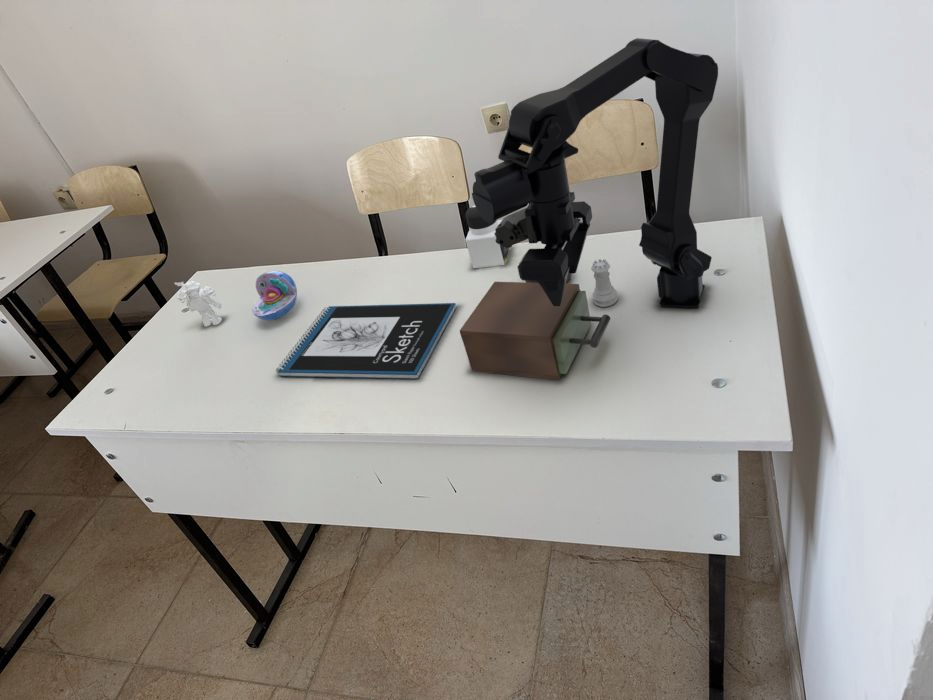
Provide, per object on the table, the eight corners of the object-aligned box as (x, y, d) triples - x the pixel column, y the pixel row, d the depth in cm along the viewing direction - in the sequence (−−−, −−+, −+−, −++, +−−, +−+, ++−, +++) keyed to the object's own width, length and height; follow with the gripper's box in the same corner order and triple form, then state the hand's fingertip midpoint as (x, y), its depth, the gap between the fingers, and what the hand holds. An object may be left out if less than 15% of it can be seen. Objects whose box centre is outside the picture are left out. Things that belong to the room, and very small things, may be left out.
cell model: (249, 331, 144) (230, 293, 138) (276, 299, 153) (259, 263, 147) (288, 329, 140) (269, 291, 135) (313, 297, 149) (296, 260, 144)
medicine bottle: (505, 265, 139) (492, 213, 132) (472, 269, 141) (458, 218, 134) (510, 248, 145) (498, 197, 138) (479, 252, 147) (465, 202, 140)
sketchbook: (418, 380, 115) (415, 370, 114) (276, 378, 126) (272, 370, 125) (456, 307, 130) (454, 299, 129) (327, 312, 142) (323, 304, 141)
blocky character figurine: (192, 330, 151) (165, 285, 144) (200, 320, 154) (174, 276, 147) (226, 325, 148) (201, 280, 142) (233, 315, 152) (209, 270, 145)
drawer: (618, 325, 111) (613, 291, 107) (595, 377, 102) (589, 342, 99) (513, 319, 121) (506, 287, 117) (484, 366, 112) (474, 333, 108)
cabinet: (586, 325, 115) (579, 283, 110) (558, 380, 105) (549, 336, 100) (504, 320, 123) (494, 281, 118) (471, 371, 113) (459, 330, 108)
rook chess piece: (620, 293, 120) (614, 255, 116) (616, 307, 117) (610, 268, 113) (595, 294, 122) (589, 256, 118) (590, 308, 119) (584, 269, 114)
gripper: (515, 170, 103) (532, 258, 112) (472, 228, 90) (496, 322, 98) (586, 164, 98) (598, 257, 107) (552, 224, 85) (569, 324, 94)
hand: (565, 288), depth 102 cm, fingers open, 9 cm apart
